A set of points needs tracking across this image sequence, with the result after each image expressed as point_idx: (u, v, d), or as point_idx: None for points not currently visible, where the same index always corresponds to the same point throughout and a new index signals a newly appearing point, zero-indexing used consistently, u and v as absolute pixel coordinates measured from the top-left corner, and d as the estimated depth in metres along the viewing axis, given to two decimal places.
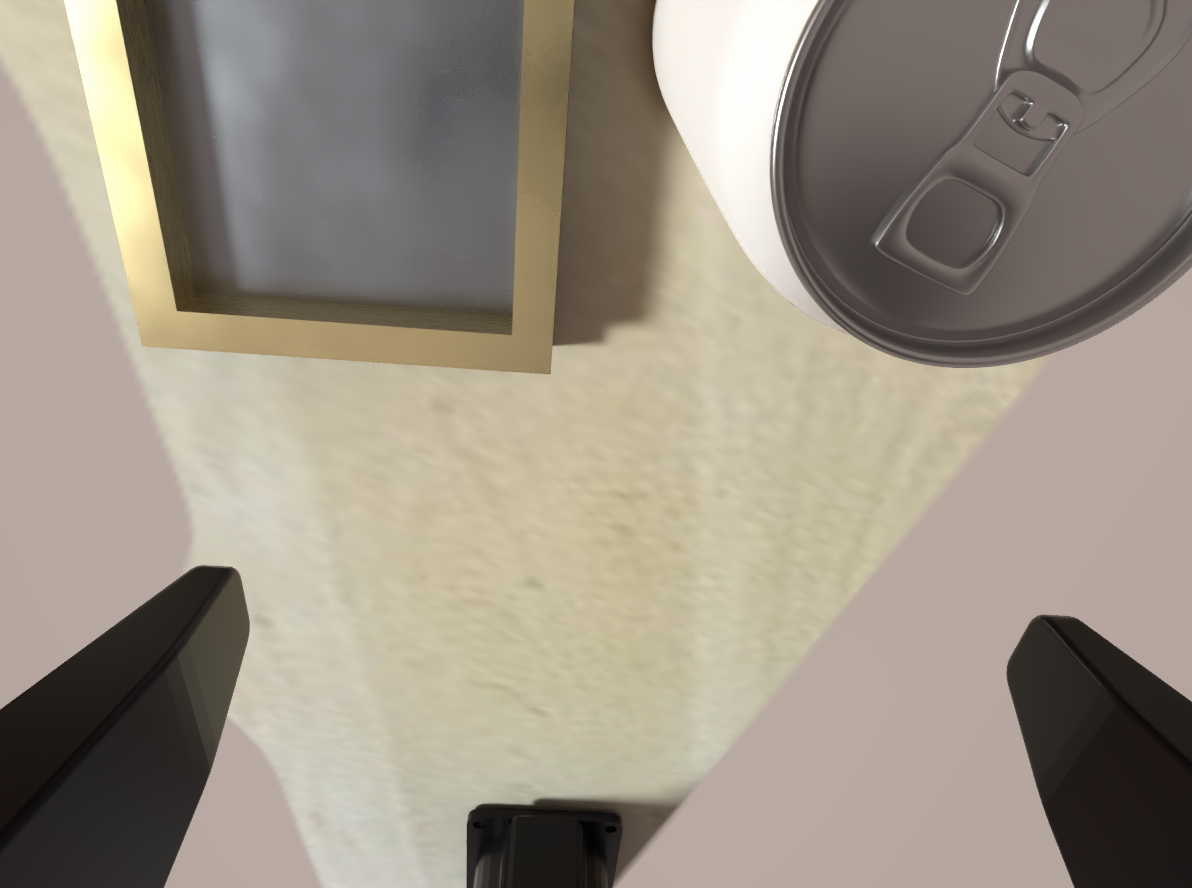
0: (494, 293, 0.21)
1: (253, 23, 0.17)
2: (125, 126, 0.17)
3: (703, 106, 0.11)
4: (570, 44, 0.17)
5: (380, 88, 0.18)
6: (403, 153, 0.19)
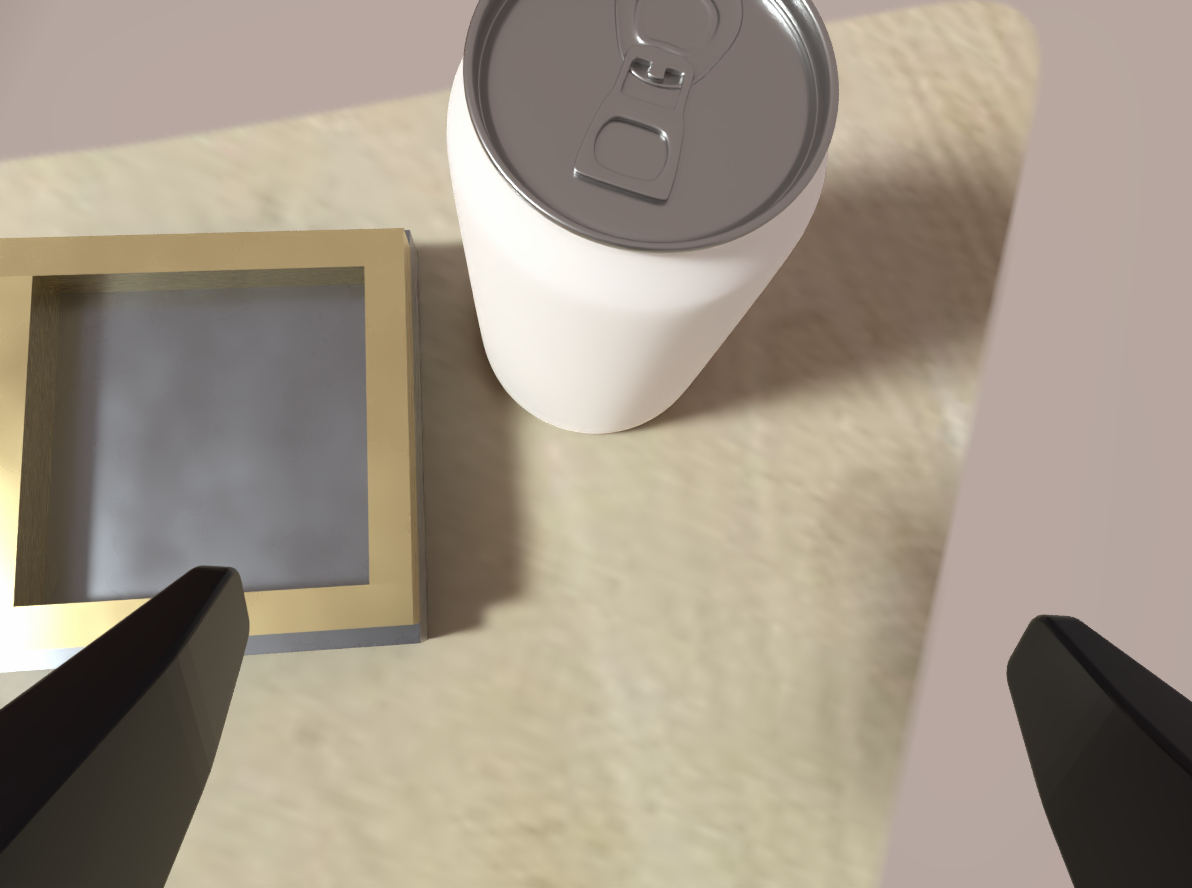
0: (356, 563, 0.21)
1: (146, 354, 0.21)
2: (9, 428, 0.19)
3: None
4: (404, 318, 0.21)
5: (250, 390, 0.21)
6: (268, 440, 0.21)
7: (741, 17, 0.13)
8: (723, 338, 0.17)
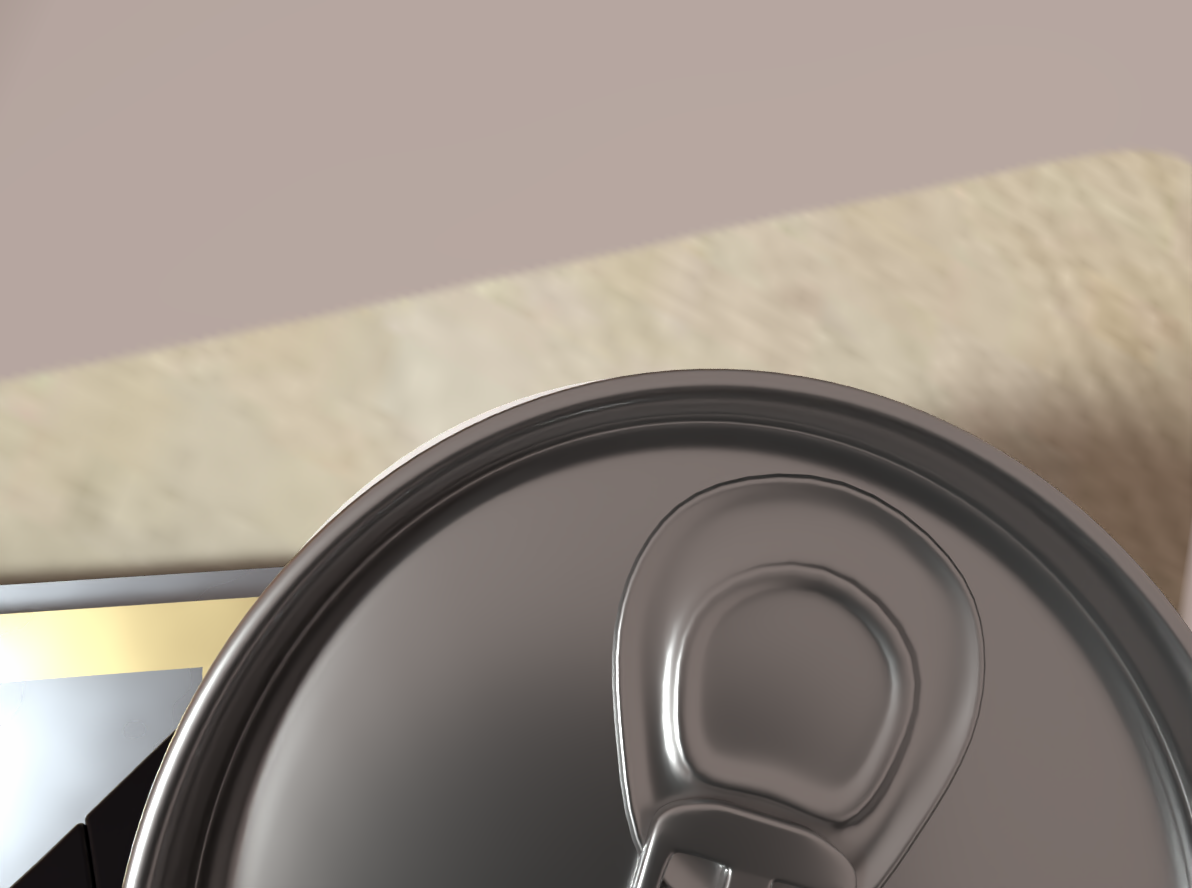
0: None
1: None
2: None
3: None
4: None
5: (20, 860, 0.13)
6: None
7: (983, 675, 0.04)
8: None
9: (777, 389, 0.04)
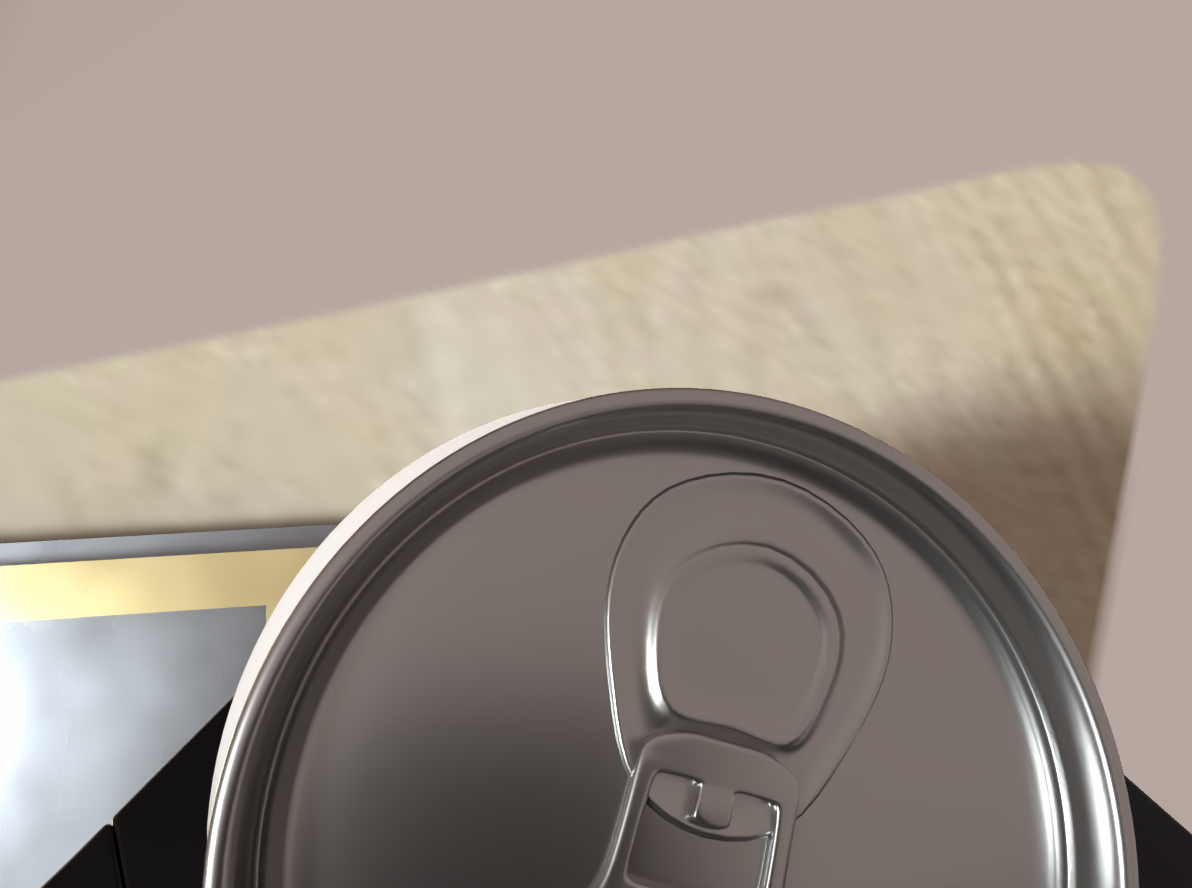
0: None
1: None
2: None
3: None
4: None
5: (113, 766, 0.15)
6: None
7: (892, 626, 0.06)
8: None
9: (732, 404, 0.05)
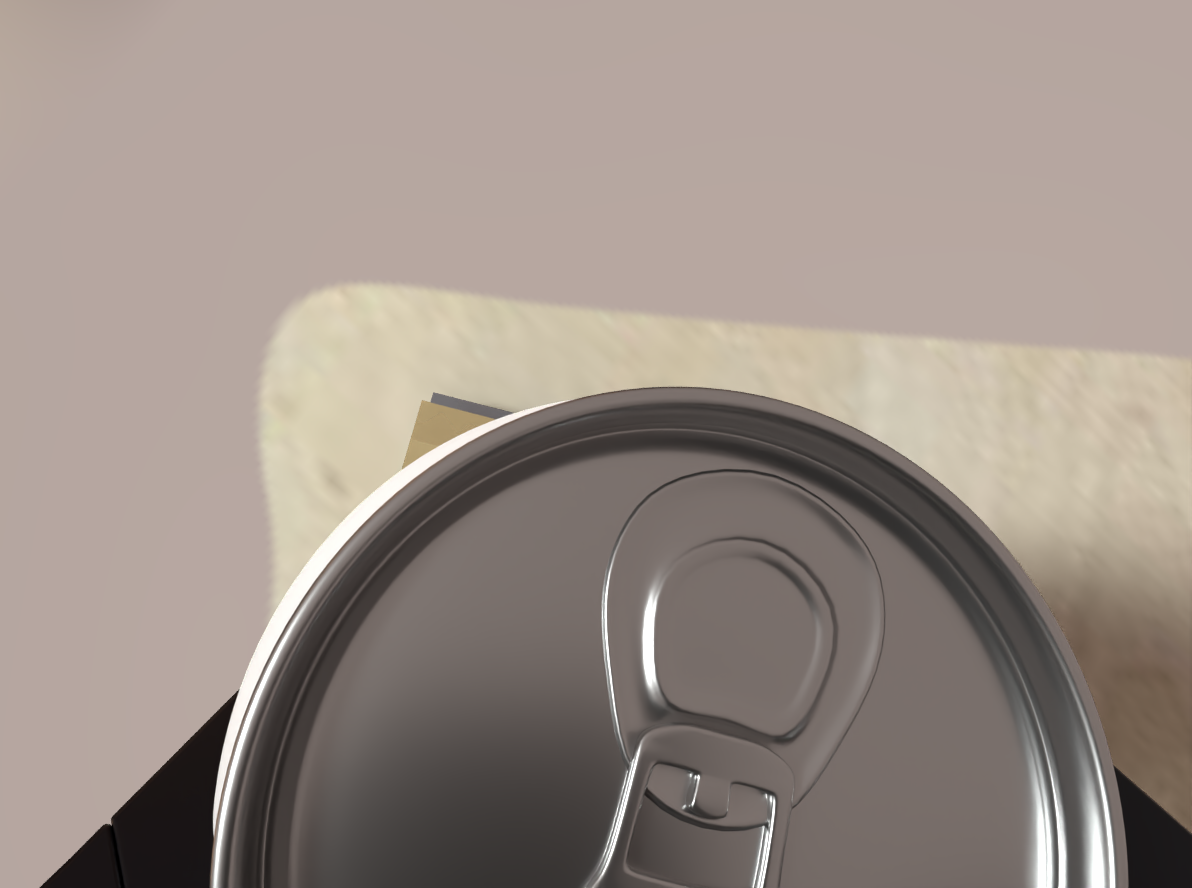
0: None
1: None
2: None
3: None
4: None
5: None
6: None
7: (884, 620, 0.06)
8: None
9: (725, 401, 0.05)
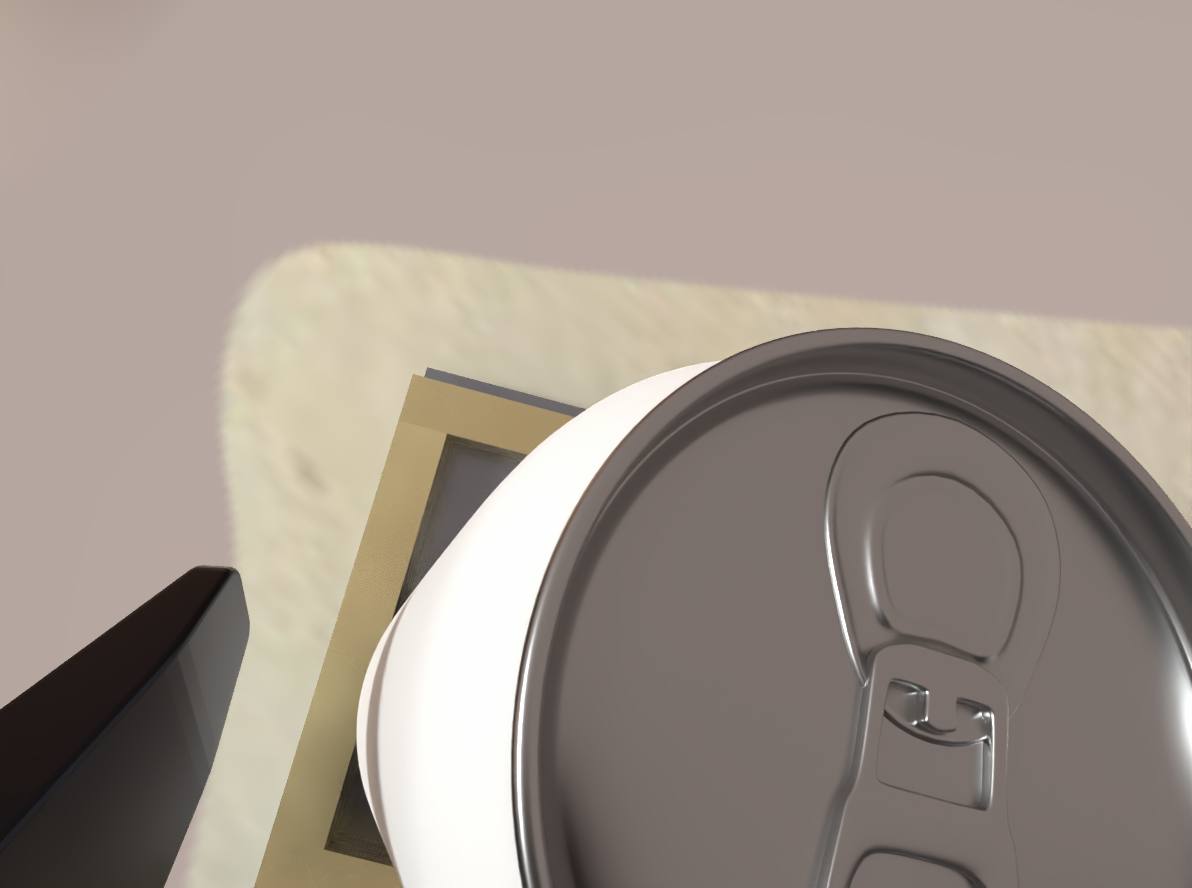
0: None
1: None
2: (375, 617, 0.16)
3: (399, 840, 0.06)
4: None
5: None
6: None
7: (1060, 554, 0.06)
8: None
9: (927, 343, 0.06)
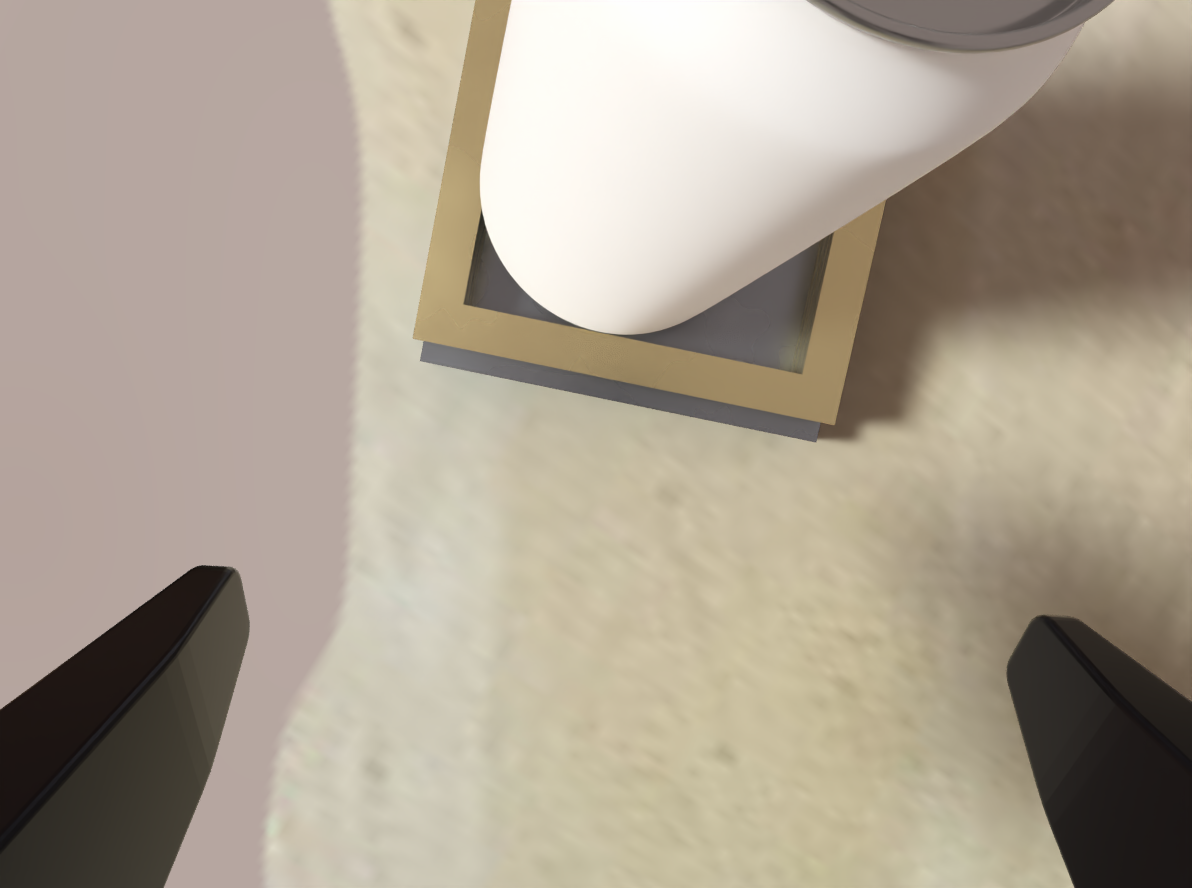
0: (773, 347, 0.20)
1: None
2: (484, 119, 0.18)
3: None
4: None
5: None
6: None
7: None
8: None
9: None
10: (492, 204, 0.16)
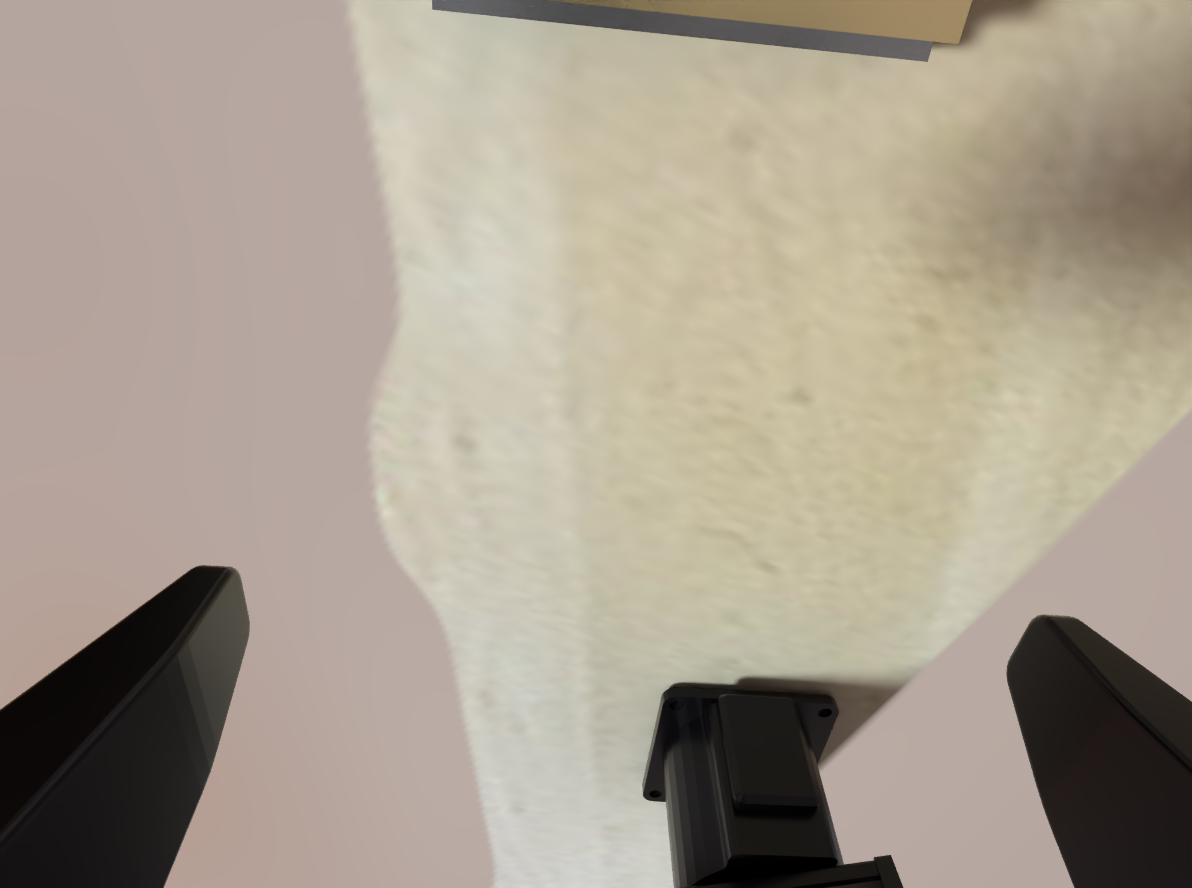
0: None
1: None
2: None
3: None
4: None
5: None
6: None
7: None
8: None
9: None
10: None
